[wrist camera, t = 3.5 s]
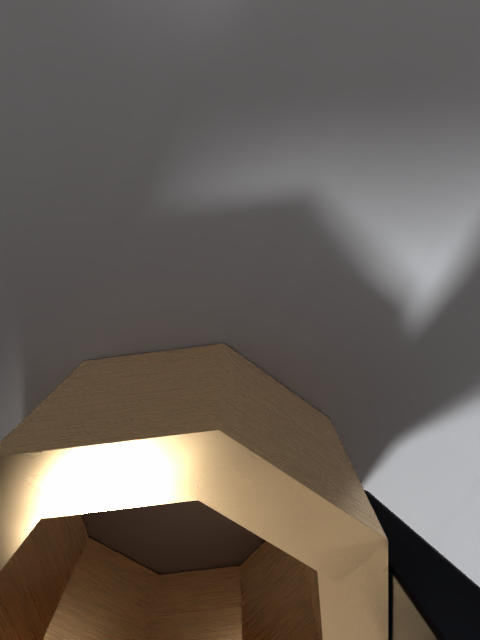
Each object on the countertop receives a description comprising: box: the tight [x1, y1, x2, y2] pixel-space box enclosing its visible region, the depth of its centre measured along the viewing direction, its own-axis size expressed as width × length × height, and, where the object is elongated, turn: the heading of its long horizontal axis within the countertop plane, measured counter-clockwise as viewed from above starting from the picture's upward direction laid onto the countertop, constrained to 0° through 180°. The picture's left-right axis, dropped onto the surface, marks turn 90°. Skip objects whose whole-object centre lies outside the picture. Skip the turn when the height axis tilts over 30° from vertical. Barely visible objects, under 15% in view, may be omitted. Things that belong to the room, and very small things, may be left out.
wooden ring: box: [0, 343, 388, 640], centre depth 7 cm, size 7×7×3 cm
